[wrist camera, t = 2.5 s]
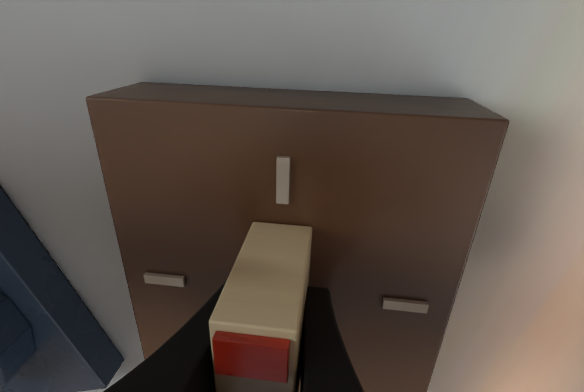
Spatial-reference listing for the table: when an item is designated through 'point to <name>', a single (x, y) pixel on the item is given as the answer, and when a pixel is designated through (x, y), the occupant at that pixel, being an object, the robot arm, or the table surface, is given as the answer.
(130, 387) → the robot arm
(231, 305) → the cream block red label
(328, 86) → the table surface
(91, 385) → the button box
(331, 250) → the panel
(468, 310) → the table surface
